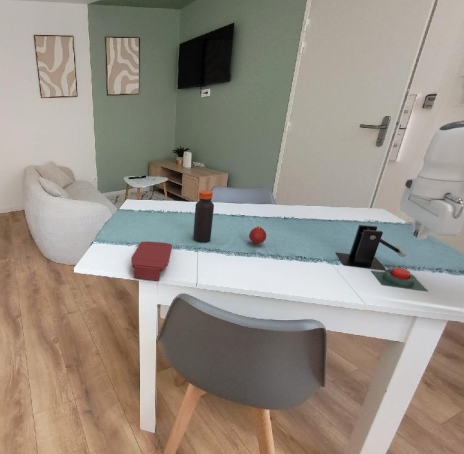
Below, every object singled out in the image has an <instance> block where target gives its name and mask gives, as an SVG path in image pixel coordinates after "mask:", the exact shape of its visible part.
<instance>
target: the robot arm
mask: <svg viewBox="0 0 464 454" xmlns="http://www.w3.org/2000/svg"><path fill="white" fill-rule="evenodd" d="M403 184H404V185H403V187H405V188H404V190H403V191H402V192H403V193H402V194H401V198H400V203H399V209H400V211H402V212H403V213H404V214H406V215H408V216H409V217H411V219H413V221H412V223H413V224H412V227H413V229H412V230H413V231H412V233H411V235H412V236H414V237H415V238H416V239H417V240H420V241H421V240H422V241H425V240H427V239H428V236H429V235H430V234H431V233H432V232H433V233H434V234H436V235H437V236H443V237H444V236H445V237H456V236H458V235H459V234H460V233H461V231H462V229H463V226H464V200H463V196H464V120H458V121H453V122H449V123H446V124H444V125H441V126H439V128H438V129H436V131H435V133H434V134H433V136H432V137H431V140H430V141H429V144H428V146H427V149H426V150H425V154H424V156H423V165H422V167H421V169H420V170H419V171H418V173H417V176H416V177H413V178H407V179H405V182H404V183H403Z"/></svg>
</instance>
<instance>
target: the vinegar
mask: <svg viewBox="0 0 464 454" xmlns="http://www.w3.org/2000/svg"><path fill="white" fill-rule="evenodd" d="M213 194H214V192H213V191H212V190H206V189H205V190H200V191H198V201H197V202H196V203H195V208H194V220H193V234H192V239H193V240H194V241H195V242H196V243H201V242H205V243H209V242H210V241H211V240H212V231H213V230H212V228H213V220H214V210H215V209H214V208H215V204H214V203H213V201H212V200H213Z"/></svg>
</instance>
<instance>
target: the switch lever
mask: <svg viewBox="0 0 464 454" xmlns="http://www.w3.org/2000/svg"><path fill="white" fill-rule="evenodd" d="M364 230H371V229H369V228H368V227H367V228H365V229H364ZM364 230H363V231H364ZM363 231H362V232H360V233H361V234H363ZM379 244H381V245H383V246H385V247H387V248H388V249H390V250H392V251H394V252H395V253H396V254H397V255H398V256H399V257H400V258H405V257H406V256H407V254H406V252H404V251H403V250H402V249H401V248H400V247H399V246H398V245H393V244H392V243H389V242H388V241H386V240H385V239H383V238H381V240H380V242H379Z"/></svg>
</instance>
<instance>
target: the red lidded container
mask: <svg viewBox="0 0 464 454" xmlns="http://www.w3.org/2000/svg"><path fill="white" fill-rule="evenodd" d="M172 249H173V244H171V243H168V242H160V241H149V240H148V241H141V242H140V243H139V244H138V246H137V248H136V249H135V251H134V252H133V254H132V256H131V258H130V262H131V266H132V269H133V278H135V279H142V280H149V281H158V282H159V281H160V279H161V272H163V271H164V270H165V269H166V267H168V265H169V261H170V257H171V253H172Z"/></svg>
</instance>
